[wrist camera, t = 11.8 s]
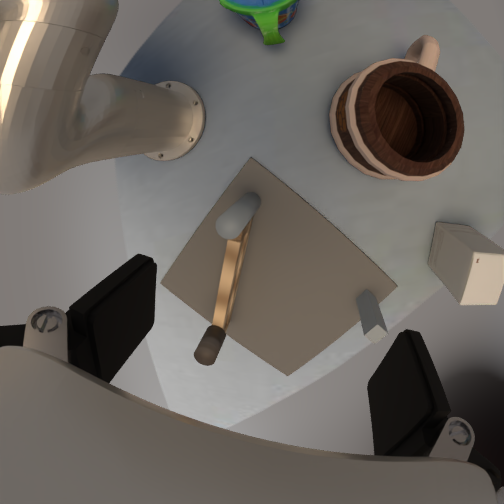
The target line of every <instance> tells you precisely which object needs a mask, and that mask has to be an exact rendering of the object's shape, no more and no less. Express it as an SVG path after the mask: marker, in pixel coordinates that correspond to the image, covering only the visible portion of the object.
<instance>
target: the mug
mask: <svg viewBox="0 0 504 504" xmlns="http://www.w3.org/2000/svg"><path fill="white" fill-rule="evenodd" d="M439 55H440V49H439V44H438V42H437V40H436V39H434V38H433V37H430V36H428V35H423V36H421V37H420V38H419V39H418V40H416V41H415V42H414V43H413V44H412V45H411V46H410V48H409V49H408V51H407V54H406V56H405V58H404V59H395V58H392V59H388V60H384V61H380V62H376V63H373V64H371V65H370V66H369V67H367V68H366V69H364V70H363V71H362V72H359V73H356V74H354V75H352V76H351V77H350V78H348V79H347V80H346V81H344V82H343V83H342V84H341V85H340V87H339V89H338V90H337V92H336V93H335V95H334V97H333V99H332V104H331V109H330V113H329V117H330V126H331V133H332V136H333V138H334V140H335V143H336V145H337V148H338V150H339V151H340V152H341V153H342V154H343V156H344V157H345V158H346V159H347V161H348V162H349V163H350V164H351V165H353V166H354V167H356V168H357V169H358V170H360V171H361V172H363V173H364V174H367V175H370V176H373V177H376V178H379V179H398V180H401V181H423V180H426V179H428V178H431V177H434V176H437V175H439V174H440V173H441V172H442V171H443V170H445V169H446V168H447V167H448V166H449V165H451V163H452V161H454V159H455V157H456V155H457V154H458V152H459V150H460V148H461V145H462V141H463V136H464V120H463V112H462V110H461V107H460V104H459V101H458V99H457V96H456V95H455V93H454V92H453V91H452V89H451V88H450V86H449V85H448V83H447V82H446V81H445V80H444V79H443V78H441V77H440V76H439V75H438V74H437V73H436V72H435V69H436V66H437V62H438V58H439ZM417 62H418V63H417Z"/></svg>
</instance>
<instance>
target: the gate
mask: <svg viewBox="0 0 504 504" xmlns="http://www.w3.org/2000/svg"><path fill="white" fill-rule="evenodd" d="M252 220H253V217H252V218H251V220H250V221H249V222H248V224H247V225H246V226H245V228H244V229H243V230H242V232H241V233H240V235H239V236H238V237H236V238H234V239H228V241H227V247H226V252H225V257H224V262H223V268H222V273H221V279H220V284H219V290H218V295H217V301H216V306H215V312H214V318H213V323H212V325H211V326H209V327H208V328H207V330H206V332H205V334H204V336H203V337H202V339H201V341H200V343H199V345H198V347H197V349H196V350H195V352H194V357H195V359H196V360H197V361H198V362H199V363H200V364H203V365H207V366H209V365H212V364H214V362H215V360H216V358H217V356H218V353H219V351H220V349H221V346H222V344H223V342H224V339H225V337H226V331H227V328H228V326H229V324H230V320H231V315H232V311H233V306H234V301H235V297H236V292H237V288H238V283H239V279H240V274H241V270H242V265H243V261H244V256H245V252H246V247H247V243H248V238H249V234H250V229H251V225H252Z"/></svg>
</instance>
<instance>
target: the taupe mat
mask: <svg viewBox="0 0 504 504" xmlns="http://www.w3.org/2000/svg"><path fill="white" fill-rule="evenodd" d="M249 192H254V193H256V194H258V195H259V197H260V198H261V206H260V207H259V209H258V210H257V211H256V213H255V214H254V215H253V220H252V225H251V229H250V234H249V238H248V243H247V247H246V252H245V256H244V261H243V265H242V270H241V274H240V279H239V283H238V288H237V292H236V297H235V301H234V306H233V311H232V315H231V320H230V324H229V326H228V328H227V331H226V334H227V335H228V336H230V337H231V338H232V339H234V340H235V341H237V342H238V343H239V344H241V345H242V346H244V347H245V348H247V349H248V350H249V351H251V352H252V353H254V354H255V355H257V356H258V357H260V358H261V359H263V360H264V361H266V362H267V363H269V364H270V365H272V366H273V367H275V368H276V369H278V370H279V371H281V372H282V373H284V374H285V375H287V376H289V375H290V374H292V373H293V372H294V371H296V370H297V369H299V368H300V367H301V366H303V365H304V364H305V363H307V362H308V361H310V360H311V359H312V358H314V357H315V356H316V355H318V354H319V353H320V352H321V351H323V350H324V349H325V348H327V347H328V346H329V345H330V344H332V343H333V342H334V341H336V340H337V339H338V338H339V337H341V336H342V335H343V334H344V333H345V332H347V331H348V330H349V329H350V328H351V327H353V326H354V325H355V324H356V323H357V322H359V321H360V320H361V319H360V314H359V310H358V306H357V302H356V298H357V297H358V296H360V295H361V294H362V293H363V292H364V291H365V290H366V289H367V290H368V291H369V292H370V293H371V294H373V295H374V296H375V297H376V299H377V302H378V304H379V303H380V302H381V301H382V300H384V299H385V298H386V297H387V296H388V295H389V294H390V293H391V292H392V291H393V290H394V289H395V288H396V287H398V286H397V285H396V284H395V283H394V282H393V281H392V280H391V279H390V278H389V277H388V276H387V275H386V274H385V273H384V272H383V271H382V270H381V269H380V268H379V267H378V266H377V265H376V264H375V263H374V262H373V261H372V260H371V259H369V258H368V257H367V256H366V255H365V254H364V253H363V252H362V251H361V250H360V249H359V248H358V247H357V246H356V245H355V244H353V243H352V242H351V241H350V240H349V239H348V238H347V237H346V236H345V235H344V234H342V233H341V232H340V231H339V230H338V229H337V228H336V227H335V226H334V225H332V224H331V223H330V222H329V221H328V220H327V219H326V218H324V217H323V216H322V215H321V214H320V213H319V212H318V211H316V210H315V209H314V208H313V207H312V206H311V205H309V204H308V203H307V202H306V201H305V200H304V199H302V198H301V197H300V196H299V195H298V194H296V193H295V192H294V191H293V190H292V189H290V188H289V187H288V186H287V185H285V184H284V183H283V182H282V181H281V180H279V179H278V178H277V177H276V176H274V175H273V174H272V173H271V172H269V171H268V170H267V169H266V168H264V167H263V166H262V165H261V164H259V163H258V162H257V161H255V160H254V159H253V158H252V157H251V158H250V159H249V160H248V162H247V163H246V164H245V165H244V167H243V168H242V169H241V171H240V172H239V173H238V175H237V176H236V177H235V178H234V180H233V181H232V182H231V184H230V185H229V186H228V188H227V189H226V190H225V192H224V193H223V194H222V196H221V197H220V198H219V200H218V201H217V203H216V204H215V205H214V207H213V208H212V209H211V211H210V212H209V213H208V215H207V216H206V218H205V219H204V220H203V222H202V223H201V225H200V226H199V227H198V229H197V230H196V232H195V233H194V234H193V236H192V237H191V239H190V240H189V242H188V243H187V244H186V246H185V247H184V249H183V250H182V252H181V253H180V255H179V256H178V257H177V259H176V260H175V262H174V263H173V265H172V266H171V268H170V269H169V271H168V272H167V274H166V275H165V277H164V278H163V280H162V281H161V284H162V285H163V286H164V287H166V288H167V289H168V290H169V291H171V292H172V293H173V294H174V295H176V296H177V297H178V298H179V299H181V300H182V301H183V302H184V303H186V304H187V305H188V306H190V307H191V308H192V309H193V310H195V311H196V312H197V313H199V314H200V315H201V316H203V317H204V318H205V319H207V320H208V321H209V322H211V323H213V318H214V312H215V306H216V301H217V295H218V290H219V284H220V279H221V273H222V268H223V262H224V257H225V252H226V247H227V241H228V239H225V238H223V237H221V236H220V235H219V234H218V232H217V230H216V221H217V219H218V217H219V216H221V215H222V214H223V213H224V212H225V211H226V210H227V209H229V208H230V207H231V206H232V205H233V204H234V203H236V202H237V201H238V200H239V199H240V198H242V197H243V196H244V195H245V194H246V193H249Z"/></svg>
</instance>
